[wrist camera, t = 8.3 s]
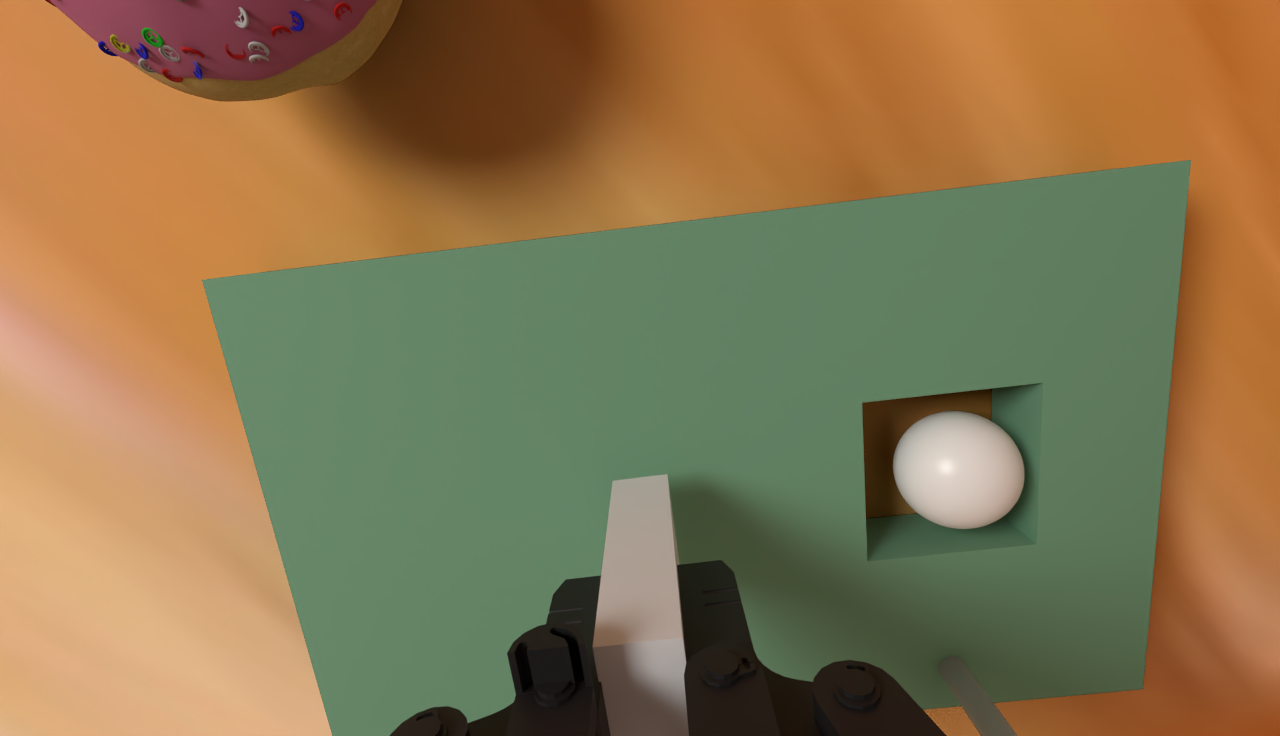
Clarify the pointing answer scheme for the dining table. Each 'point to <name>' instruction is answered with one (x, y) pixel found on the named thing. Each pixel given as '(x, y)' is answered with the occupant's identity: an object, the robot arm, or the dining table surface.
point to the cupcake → (237, 41)
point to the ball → (958, 470)
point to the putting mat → (724, 436)
